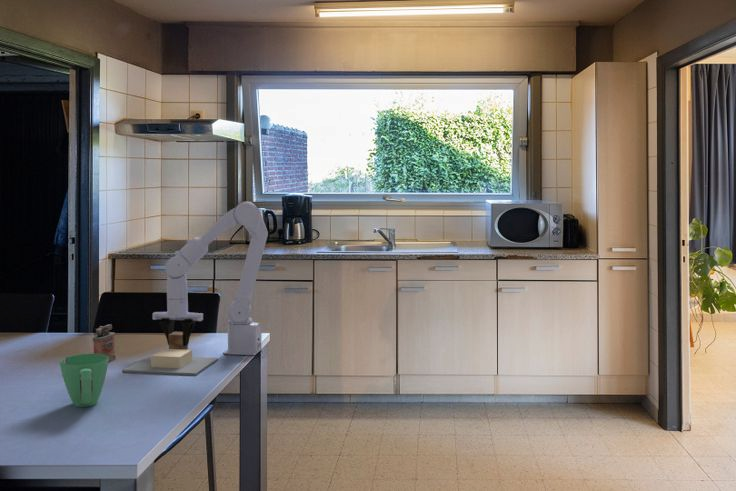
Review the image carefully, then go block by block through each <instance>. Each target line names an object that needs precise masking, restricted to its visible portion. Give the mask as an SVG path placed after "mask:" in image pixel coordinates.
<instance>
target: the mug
mask: <svg viewBox="0 0 736 491" xmlns="http://www.w3.org/2000/svg"><path fill="white" fill-rule="evenodd" d="M108 365H109V363H108V356H107V355H104V354H94V353H81V354H74V355H70V356H67V357H66V358H65V361H64V358H61V359H60V361H59V366H60V369H61V374H62V378H63V382H64V385H65V387H66V391H67V394H68V396H69V398H70V400H71V402H72V404H73V406H74V407H77V408H78V407H79V408H80V407H81V408H82V407H85V408H86V407H91V406H94V405H96V404H97V403H98V402H99V400H100V396H101V394H102V392H103V391H102V390H103V386H104V384H105V381H106V377H107V371H108Z"/></svg>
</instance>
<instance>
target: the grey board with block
mask: <svg viewBox="0 0 736 491" xmlns="http://www.w3.org/2000/svg"><path fill="white" fill-rule="evenodd" d="M218 361H219V357H209V356H208V357H206V356H205V357H204V356H203V357H202V356H193V349H187V350H183V349H169V348H163V349H161V350H159V351H158V352H156V353H154V354H149V355H148V356H146V357H144V358H143V359H140V360H138V361H137V362H135V363H133V364H131V365H129V366H126V368H123V369H122V371H121V372H122V373H132V374H153V375H154V374H155V375H171V376H172V375H175V376H176V375H177V376H193V377H194V376H196V377H197V376H198V375H200V374H201V373H202V372H203V371H205V370H207V369H208V368H209V367H211V366H212V365H214V364H215V363H216V362H218Z"/></svg>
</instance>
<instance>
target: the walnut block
mask: <svg viewBox="0 0 736 491" xmlns="http://www.w3.org/2000/svg"><path fill="white" fill-rule="evenodd" d="M188 346H189V344H188V345H186V346H183V331H173V333H171V334H169V345H168V349H183V350H189V347H188Z"/></svg>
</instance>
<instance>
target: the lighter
mask: <svg viewBox="0 0 736 491" xmlns="http://www.w3.org/2000/svg"><path fill="white" fill-rule="evenodd" d="M112 329H113V325H112V324H106V325H104V326H103V325H100V326H99V327H98V328H95V332H96V335H95V336H93V337H92V342H93V354H104V355H107V356H108V364H110V363H112V362H114V361H115V360H116V353H115V350H116V348H115V346H116V345H115V336H116V333H115V332H114V331H113V332H112V331H111V330H112Z"/></svg>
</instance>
